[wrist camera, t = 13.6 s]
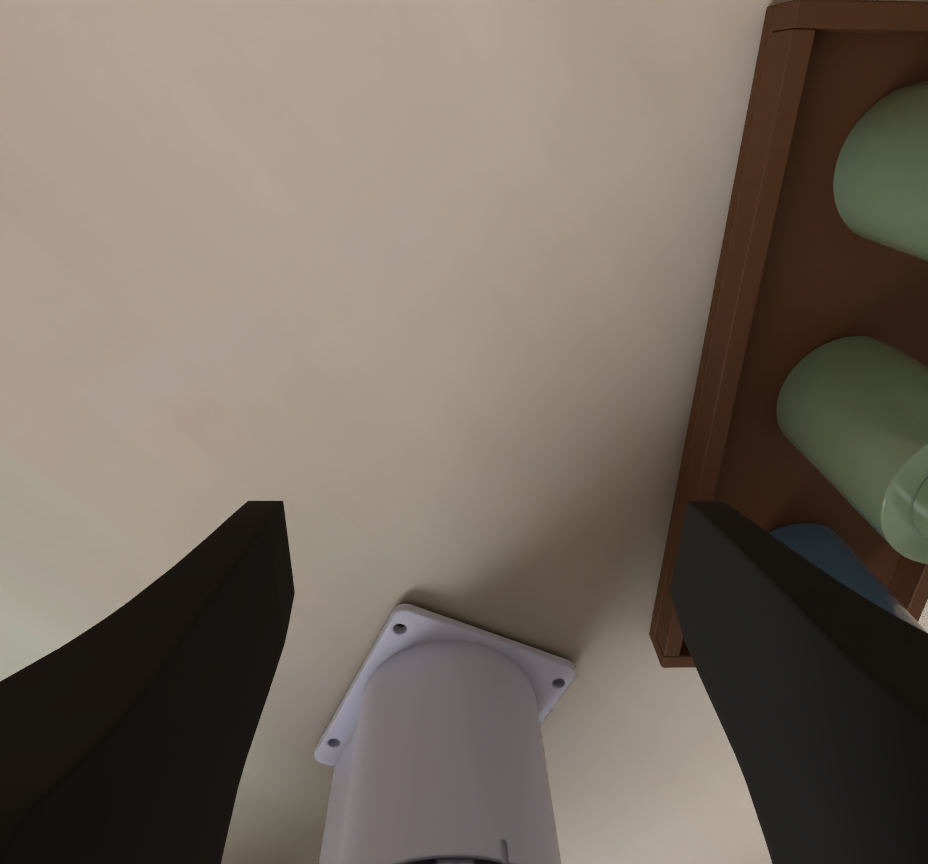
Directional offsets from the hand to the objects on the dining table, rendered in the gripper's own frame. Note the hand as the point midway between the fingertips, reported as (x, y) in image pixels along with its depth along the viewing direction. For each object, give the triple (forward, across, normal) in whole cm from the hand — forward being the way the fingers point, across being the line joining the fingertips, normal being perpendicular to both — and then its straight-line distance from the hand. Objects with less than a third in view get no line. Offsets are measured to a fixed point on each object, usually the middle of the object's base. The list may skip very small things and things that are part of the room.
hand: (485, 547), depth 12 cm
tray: (+10, -12, +1) cm, 16 cm away
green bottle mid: (+10, -12, +1) cm, 16 cm away
